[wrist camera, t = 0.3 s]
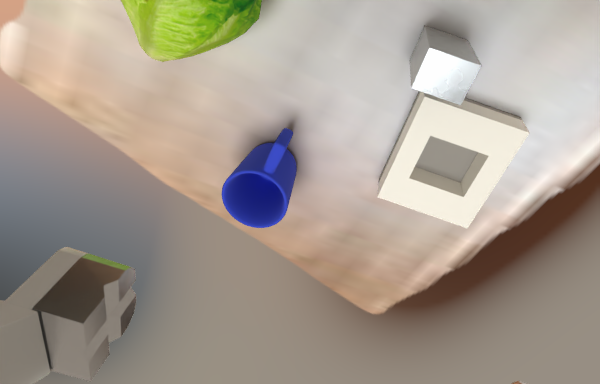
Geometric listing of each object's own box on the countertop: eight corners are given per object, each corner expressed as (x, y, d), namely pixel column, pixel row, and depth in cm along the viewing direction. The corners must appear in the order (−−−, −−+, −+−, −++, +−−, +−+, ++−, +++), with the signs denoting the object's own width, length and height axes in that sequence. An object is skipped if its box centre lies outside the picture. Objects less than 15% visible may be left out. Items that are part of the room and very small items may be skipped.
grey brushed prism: (424, 25, 48) (429, 47, 40) (467, 40, 48) (481, 65, 39) (409, 60, 50) (411, 88, 42) (450, 74, 50) (460, 105, 42)
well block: (422, 83, 51) (424, 96, 47) (520, 117, 51) (529, 132, 47) (378, 179, 59) (377, 197, 55) (463, 208, 59) (467, 228, 55)
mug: (325, 129, 57) (312, 165, 48) (289, 196, 63) (272, 238, 55) (268, 100, 56) (245, 131, 48) (237, 171, 63) (212, 210, 54)
